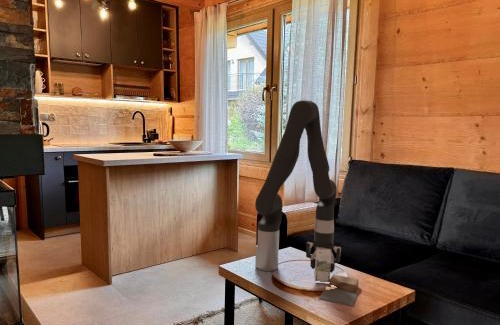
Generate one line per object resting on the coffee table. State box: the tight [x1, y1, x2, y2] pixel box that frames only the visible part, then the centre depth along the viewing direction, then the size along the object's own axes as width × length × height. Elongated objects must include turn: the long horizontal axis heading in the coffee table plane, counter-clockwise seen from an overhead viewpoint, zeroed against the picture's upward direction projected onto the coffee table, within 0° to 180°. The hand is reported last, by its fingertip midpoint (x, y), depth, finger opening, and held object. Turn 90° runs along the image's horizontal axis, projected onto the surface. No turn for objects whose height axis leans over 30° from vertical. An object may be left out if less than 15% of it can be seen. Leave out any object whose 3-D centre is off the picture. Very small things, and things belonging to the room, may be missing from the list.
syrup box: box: [313, 246, 332, 282], centre depth 148 cm, size 6×6×14 cm
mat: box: [318, 288, 359, 307], centre depth 136 cm, size 12×11×1 cm
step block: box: [328, 273, 360, 293], centre depth 144 cm, size 10×6×3 cm, turn 64°
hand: (322, 269), depth 148 cm, fingers closed on syrup box, 7 cm apart
